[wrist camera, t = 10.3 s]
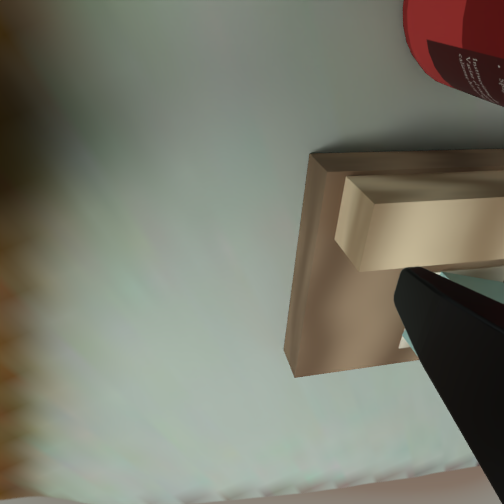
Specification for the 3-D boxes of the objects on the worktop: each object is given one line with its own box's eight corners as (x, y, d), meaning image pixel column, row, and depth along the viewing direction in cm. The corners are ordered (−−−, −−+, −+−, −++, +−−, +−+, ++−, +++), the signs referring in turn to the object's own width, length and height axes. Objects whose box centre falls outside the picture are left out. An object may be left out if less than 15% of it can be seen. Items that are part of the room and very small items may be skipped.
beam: (334, 239, 23) (359, 272, 20) (345, 176, 21) (374, 203, 18) (526, 225, 25) (569, 252, 23) (552, 168, 23) (601, 191, 21)
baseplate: (283, 349, 30) (295, 378, 28) (309, 153, 22) (327, 172, 20) (460, 327, 33) (482, 351, 31) (534, 147, 25) (571, 164, 23)
